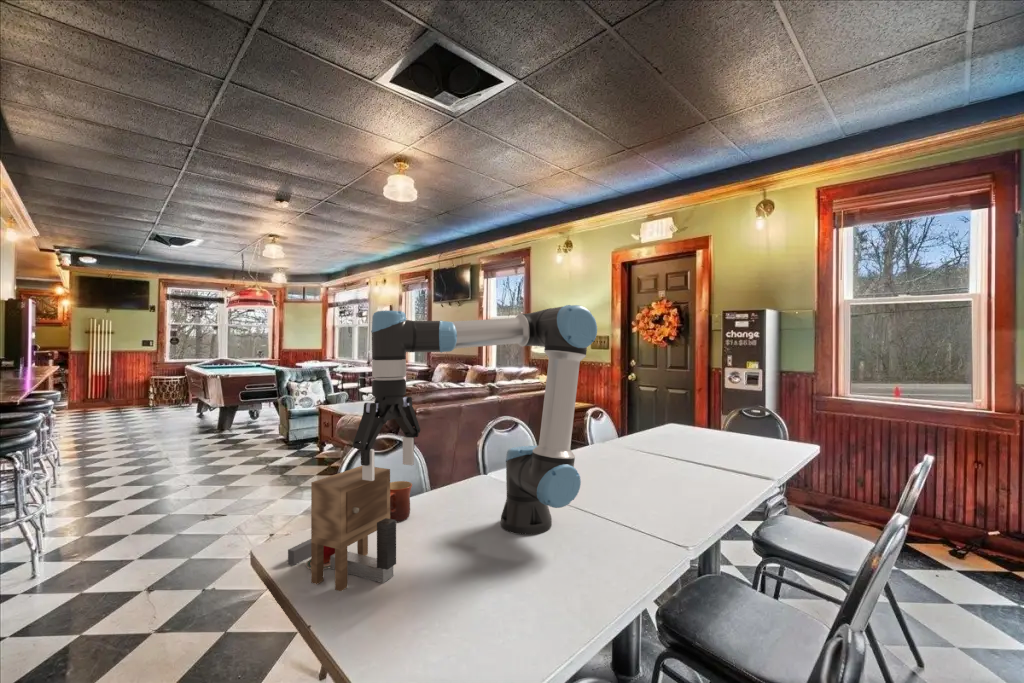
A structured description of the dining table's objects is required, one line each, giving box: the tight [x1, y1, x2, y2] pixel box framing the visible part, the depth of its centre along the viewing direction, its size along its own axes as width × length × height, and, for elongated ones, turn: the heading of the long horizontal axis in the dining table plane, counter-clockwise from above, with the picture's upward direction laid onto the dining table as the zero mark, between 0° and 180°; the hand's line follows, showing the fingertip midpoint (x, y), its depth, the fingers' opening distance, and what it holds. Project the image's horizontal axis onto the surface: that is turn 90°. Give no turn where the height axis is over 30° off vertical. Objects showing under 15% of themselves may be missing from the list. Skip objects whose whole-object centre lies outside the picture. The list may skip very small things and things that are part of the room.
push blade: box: [329, 518, 397, 584], centre depth 105 cm, size 17×4×13 cm, turn 65°
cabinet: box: [310, 465, 391, 592], centre depth 106 cm, size 10×16×22 cm, turn 155°
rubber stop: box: [287, 538, 311, 567], centre depth 113 cm, size 2×8×4 cm, turn 155°
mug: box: [390, 480, 413, 523], centre depth 137 cm, size 12×9×10 cm
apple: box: [305, 546, 335, 570], centre depth 110 cm, size 8×8×6 cm
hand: (389, 471), depth 102 cm, fingers open, 13 cm apart
